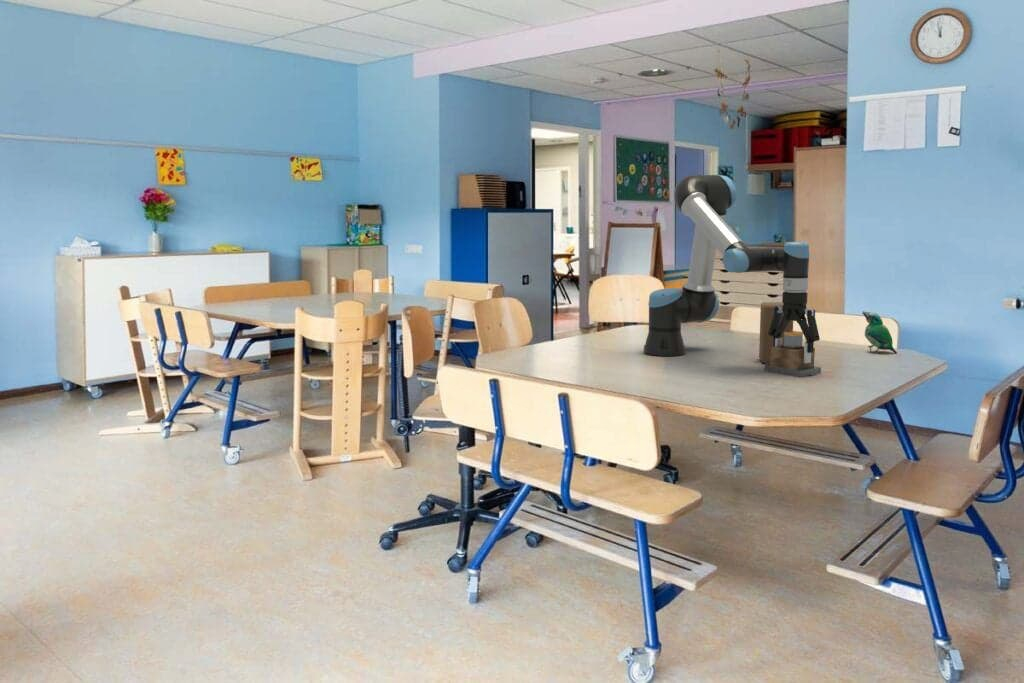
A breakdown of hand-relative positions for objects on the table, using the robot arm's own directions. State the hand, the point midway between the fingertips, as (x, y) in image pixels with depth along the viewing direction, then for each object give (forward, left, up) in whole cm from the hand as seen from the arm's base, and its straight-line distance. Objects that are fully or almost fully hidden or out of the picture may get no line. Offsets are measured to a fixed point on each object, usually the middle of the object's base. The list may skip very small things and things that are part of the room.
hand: (792, 360), depth 271 cm
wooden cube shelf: (0, 0, -2) cm, 2 cm away
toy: (-4, +55, -4) cm, 55 cm away
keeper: (0, 0, -4) cm, 4 cm away
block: (-16, +12, -4) cm, 20 cm away
